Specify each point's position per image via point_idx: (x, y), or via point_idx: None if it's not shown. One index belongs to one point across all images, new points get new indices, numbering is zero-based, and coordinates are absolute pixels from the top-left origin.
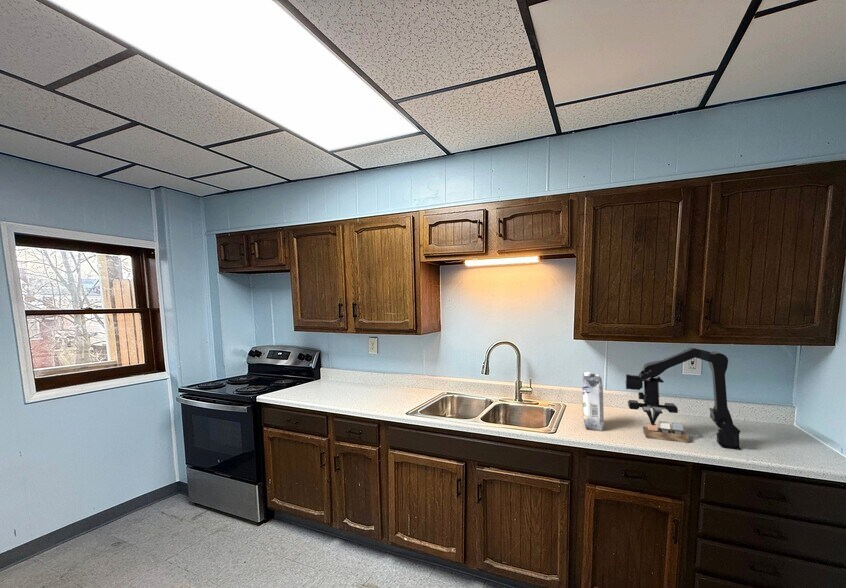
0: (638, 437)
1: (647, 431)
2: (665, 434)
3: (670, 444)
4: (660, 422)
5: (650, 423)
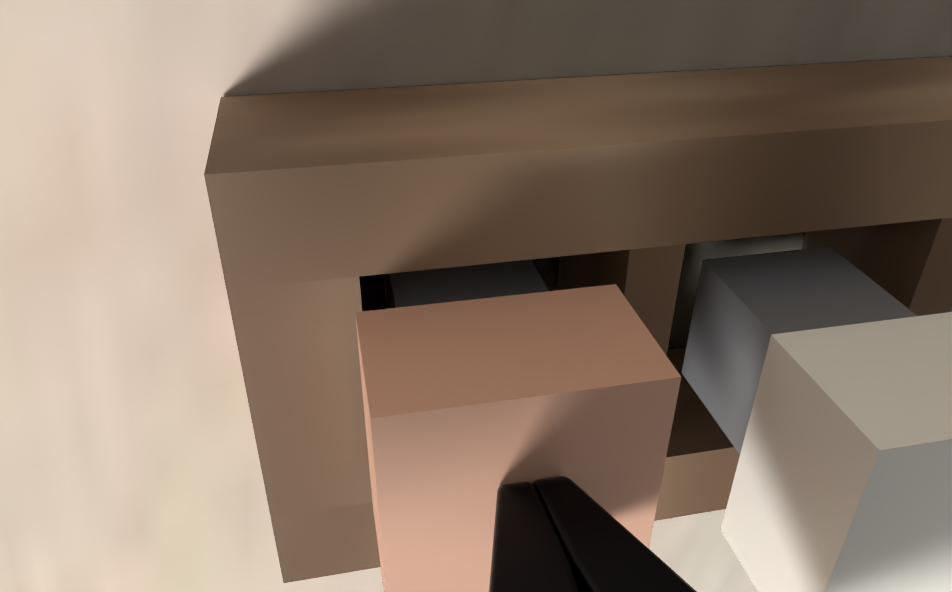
0: (122, 497)
1: (329, 547)
2: (713, 500)
3: (666, 540)
4: (843, 563)
5: (489, 412)
